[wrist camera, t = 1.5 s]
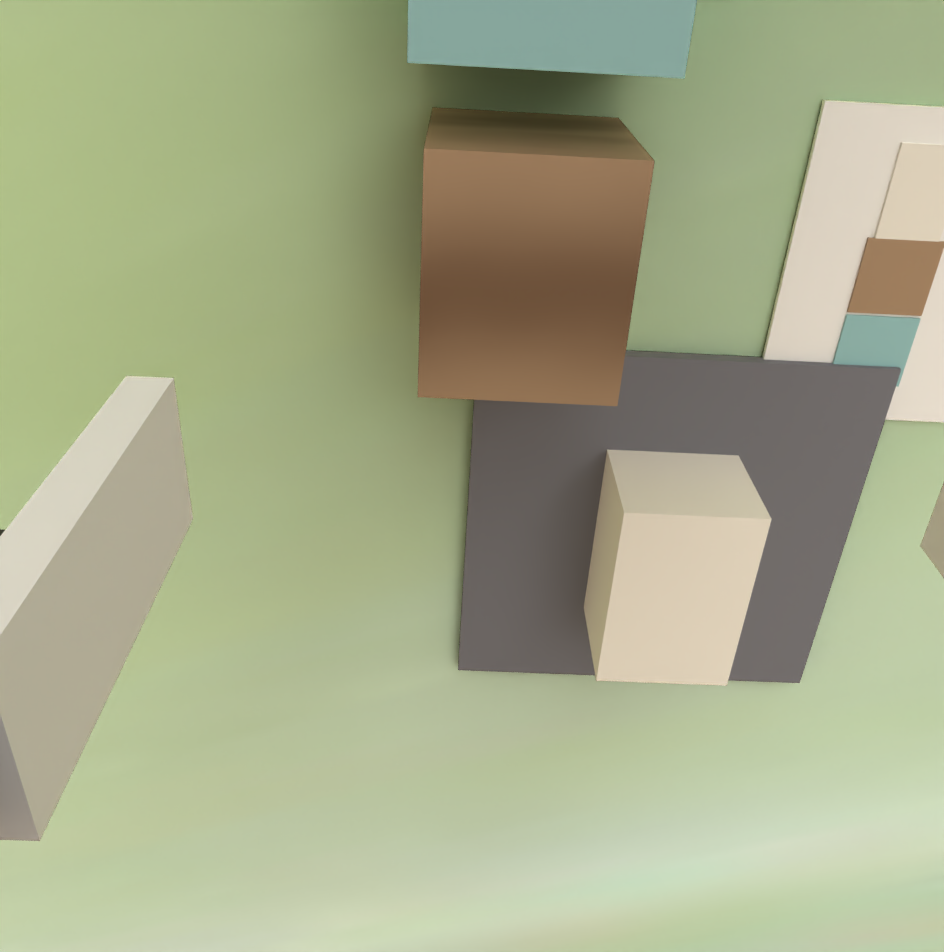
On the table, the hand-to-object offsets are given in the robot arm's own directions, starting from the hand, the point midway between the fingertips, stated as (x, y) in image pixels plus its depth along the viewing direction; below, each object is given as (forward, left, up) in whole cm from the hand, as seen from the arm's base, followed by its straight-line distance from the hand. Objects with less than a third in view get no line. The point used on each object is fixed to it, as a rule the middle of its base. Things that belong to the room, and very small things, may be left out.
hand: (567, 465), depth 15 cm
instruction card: (+1, +12, -15) cm, 19 cm away
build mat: (+11, +6, -15) cm, 19 cm away
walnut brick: (0, 0, -15) cm, 15 cm away
